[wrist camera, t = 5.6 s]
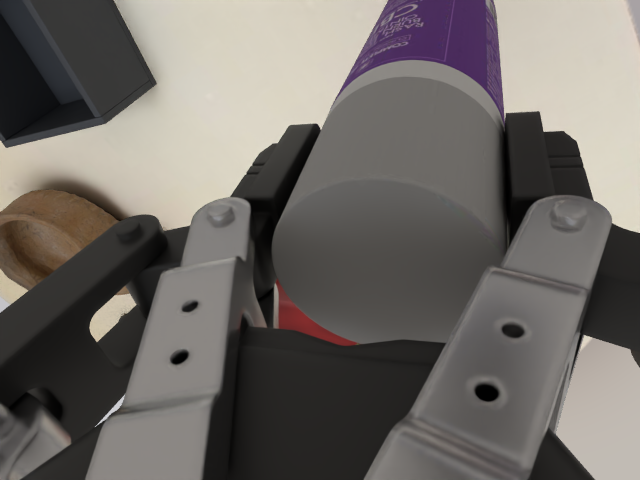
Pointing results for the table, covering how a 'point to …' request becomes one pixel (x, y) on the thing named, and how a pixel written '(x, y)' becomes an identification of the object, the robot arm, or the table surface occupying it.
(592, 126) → the table surface
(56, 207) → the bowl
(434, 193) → the container
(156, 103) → the table surface
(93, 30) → the bin
